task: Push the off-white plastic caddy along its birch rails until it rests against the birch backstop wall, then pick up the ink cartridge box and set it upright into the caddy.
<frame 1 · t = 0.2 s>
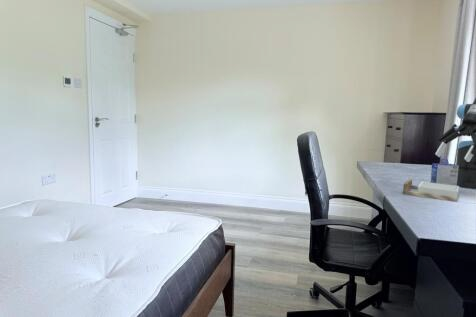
hand: (451, 157, 142), 16 cm above the table, tool tilted 30°, fingers open, 13 cm apart
caddy: (438, 190, 141), point 2 cm above the table, slide at 0.0 cm
backstop: (423, 193, 144), on the table
ink cartridge box: (442, 190, 154), on the table
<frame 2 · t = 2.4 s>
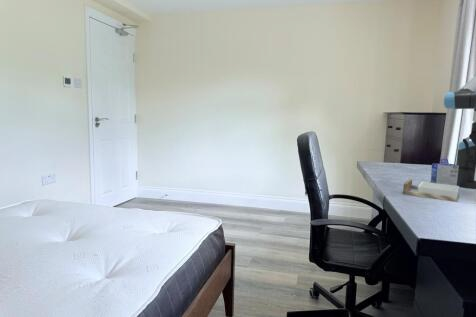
nothing on the table moved.
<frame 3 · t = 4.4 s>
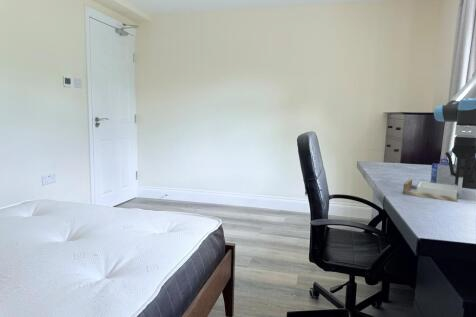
hand: (459, 192, 137), 2 cm above the table, tool pointing down, fingers closed
caddy: (437, 190, 141), point 2 cm above the table, slide at 0.4 cm, touching gripper
everything else where it was.
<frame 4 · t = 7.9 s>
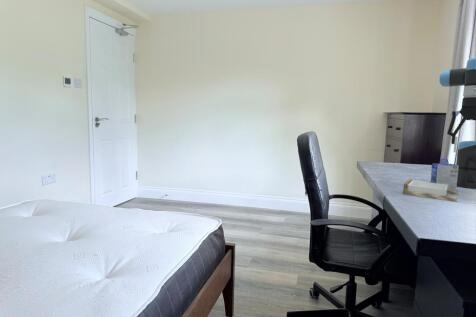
hand: (467, 153, 134), 19 cm above the table, tool pointing down, fingers open, 8 cm apart
caddy: (427, 189, 143), point 2 cm above the table, slide at 4.0 cm
everything else where it was.
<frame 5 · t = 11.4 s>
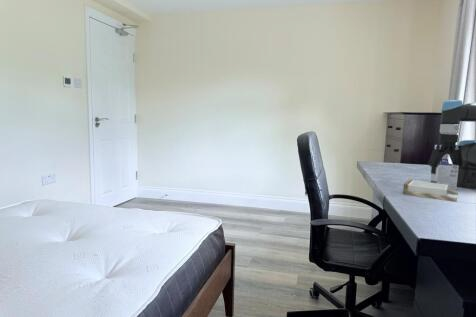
hand: (443, 180, 153), 4 cm above the table, tool pointing down, fingers closed on ink cartridge box, 10 cm apart
ink cartridge box: (442, 189, 154), on the table, touching gripper
everything else where it was.
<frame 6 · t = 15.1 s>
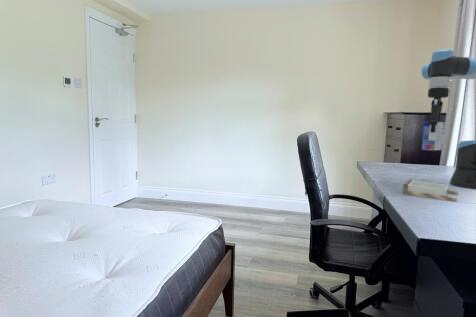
hand: (433, 139, 141), 24 cm above the table, tool pointing down, fingers closed on ink cartridge box, 10 cm apart
ink cartridge box: (431, 150, 141), point 19 cm above the table, touching gripper
everything else where it was.
when the fingers open (7 cm above the table, at t = 18.8 s): ink cartridge box drops 1 cm, resting on caddy.
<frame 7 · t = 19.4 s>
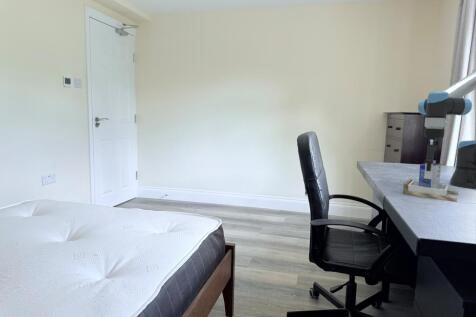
hand: (429, 176, 143), 8 cm above the table, tool pointing down, fingers open, 13 cm apart
caddy: (427, 189, 143), point 2 cm above the table, slide at 3.9 cm, touching ink cartridge box
ink cartridge box: (428, 191, 143), point 1 cm above the table, touching caddy
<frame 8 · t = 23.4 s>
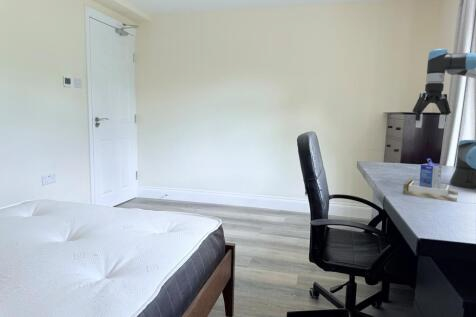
hand: (430, 128, 157), 29 cm above the table, tool pointing down, fingers open, 13 cm apart
caddy: (428, 189, 143), point 2 cm above the table, slide at 3.6 cm, touching ink cartridge box
everything else where it was.
at the end: caddy slide at 3.6 cm; ink cartridge box 0.5 cm from the target spot, point 0.9 cm above the table; ink cartridge box tilted 0° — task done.
